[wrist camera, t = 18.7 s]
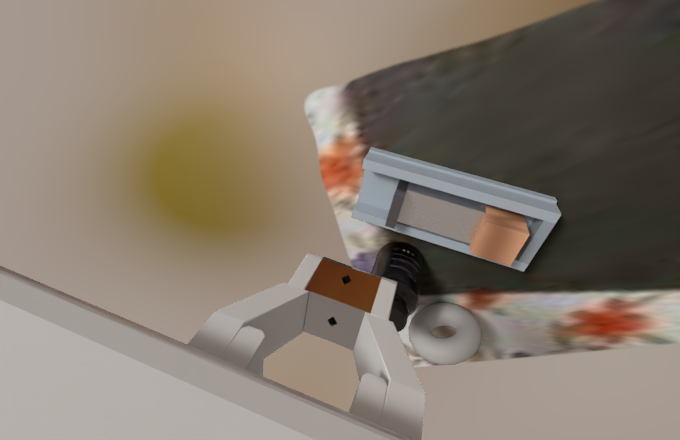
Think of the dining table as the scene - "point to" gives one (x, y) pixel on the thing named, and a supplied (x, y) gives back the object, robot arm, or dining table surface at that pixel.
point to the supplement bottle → (401, 278)
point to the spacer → (499, 235)
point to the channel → (392, 167)
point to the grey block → (435, 211)
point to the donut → (445, 348)
